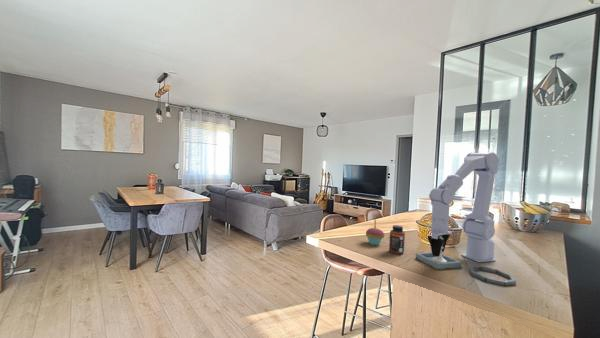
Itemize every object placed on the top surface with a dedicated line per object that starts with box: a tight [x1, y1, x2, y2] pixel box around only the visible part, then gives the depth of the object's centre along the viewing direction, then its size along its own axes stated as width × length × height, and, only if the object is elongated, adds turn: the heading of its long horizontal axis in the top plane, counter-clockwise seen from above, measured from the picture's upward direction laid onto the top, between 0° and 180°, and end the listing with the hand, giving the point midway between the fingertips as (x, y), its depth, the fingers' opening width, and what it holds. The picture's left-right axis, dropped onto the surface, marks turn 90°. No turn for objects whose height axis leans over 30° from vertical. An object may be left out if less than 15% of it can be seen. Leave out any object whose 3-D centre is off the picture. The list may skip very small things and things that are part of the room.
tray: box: [415, 251, 463, 270], centre depth 96 cm, size 11×11×2 cm
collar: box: [469, 265, 517, 287], centre depth 85 cm, size 12×12×1 cm
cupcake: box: [365, 218, 385, 246], centre depth 117 cm, size 9×8×12 cm
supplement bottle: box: [388, 224, 406, 255], centre depth 106 cm, size 6×6×11 cm
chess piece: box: [433, 236, 447, 263], centre depth 96 cm, size 5×5×10 cm
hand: (438, 253), depth 96 cm, fingers open, 7 cm apart
